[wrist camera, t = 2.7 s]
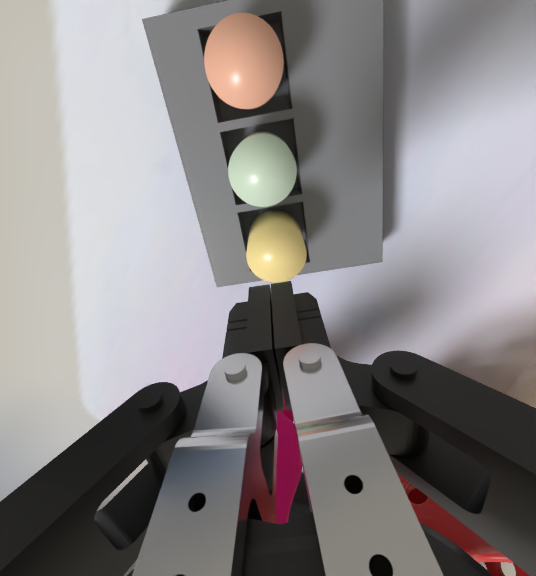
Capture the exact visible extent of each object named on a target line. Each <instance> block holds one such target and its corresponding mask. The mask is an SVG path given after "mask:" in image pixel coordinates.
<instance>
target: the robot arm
mask: <svg viewBox="0 0 536 576" xmlns="http://www.w3.org/2000/svg"><path fill="white" fill-rule="evenodd" d="M283 393H284V397H283ZM284 398H285V403H286V408H287V410H290V409H292V414H293V419H294V425H295V430H296V436H297V441H298V446H299V451H300V456H301V461H302V466H303V471H304V476H305V482H306V487H307V492H308V497H309V502H310V507H311V513H308V514H306V515H304V516H301V517H299V518H297V519H294V520H292V521H289V522H287V523H284V524H277V515H276V478H277V445H278V434H277V430H276V429H277V411H283V410H284ZM145 459H146V460H147V462H148V464H147V465H146V466H145V467H144V468H143V469H142V470H141V471H140V472H139V473H138V474H137V475H136V476H135V477H134V478H133V479H132V480H131V481H130V482H129V483H128V484H127V485H126V486H125V487H124V488H123V489H122V490H121V491H120V492H119V493H118V494H117V495H116V496H115V497H114V498H113V499H112V500H111V501H110V502H109V503H108V504H107V505H106V506H105V507H103V508H102V509H101V510H99V511H97V509H98V507H99V506H100V504H101V503H102V502H103V501H104V499H105V498H107V497H108V496H109V495H110V494H111V493H112V492H113V491H114V490H115V489H116V488H117V486H119V485H120V484H121V483H122V482H123V481H124V480H125V479H126V478H127V477H128V476H129V475H130V474H131V473H132V472H133V471H134V470H135V469H136V468H137V467H138V466H139V465H140V464H141V463H142V462H143V461H144V460H145ZM396 472H397V473H398V474H399V475H401V476H402V477H403V478H404V479H406V480H407V481H408V482H410V483H411V484H412V485H414V486H415V487H416V488H417V489H419V490H420V491H421V492H423V493H424V494H425V495H426V496H428V497H429V498H430V499H432V500H433V501H434V502H436V503H437V504H438V505H439V506H441V507H442V508H443V509H445V510H446V511H447V512H449V513H450V514H451V515H452V516H454V517H455V518H456V519H458V520H459V521H460V522H462V523H463V524H464V525H465V526H467V527H468V528H469V529H471V530H472V531H473V532H474V533H476V534H477V535H478V536H480V537H481V538H482V539H484V540H485V541H486V542H487V543H489V544H490V545H491V546H493V547H494V548H495V549H497V550H498V551H499V552H500V553H502V554H503V555H504V556H506V557H507V558H508V559H509V560H511V561H512V562H513V563H515V564H516V565H517V566H519V567H520V568H521V569H522V570H524V571H525V572H526V573H528V574H529V575H530V576H536V408H534V407H531V406H529V405H527V404H525V403H523V402H520V401H518V400H516V399H514V398H512V397H510V396H507V395H505V394H503V393H501V392H499V391H496V390H494V389H492V388H490V387H488V386H485V385H483V384H481V383H479V382H477V381H474V380H472V379H470V378H468V377H466V376H464V375H461V374H459V373H457V372H455V371H453V370H450V369H448V368H446V367H444V366H442V365H439V364H437V363H435V362H433V361H431V360H428V359H426V358H424V357H422V356H420V355H417V354H415V353H411V352H407V351H390V352H386V353H383V354H381V355H380V356H378V357H377V358H376V359H375V360H374V362H373V364H372V365H367V364H358V363H352V362H349V361H346V360H344V359H342V358H340V357H338V356H337V355H336V354H335V352H334V351H333V350H332V349H331V347H330V344H329V340H328V337H327V334H326V330H325V327H324V323H323V320H322V318H321V313H320V310H319V307H318V303H317V300H316V298H314V297H313V296H312V295H311V294H309V293H308V292H307V293H300V294H294V295H293V289H292V284H291V281H287V282H281V283H274V284H271V289H270V285H269V284H268V285H262V286H255V287H249V296H248V302H241V303H236V304H235V306H234V307H233V308H232V310H231V311H230V312H229V318H228V325H227V332H226V338H225V344H224V351H223V357H222V359H221V360H220V361H219V362H217V363H216V364H215V365H214V367H213V368H212V370H211V372H210V375H209V379H208V380H207V381H206V382H204V383H202V384H200V385H198V386H196V387H193V388H190V389H188V390H185V391H183V392H179V389H178V388H177V386H175V385H174V384H172V383H168V382H159V383H155V384H151V385H149V386H147V387H144V388H143V389H141V390H140V391H138V392H137V393H135V394H134V395H133V396H132V397H130V398H129V399H128V400H127V401H125V402H124V403H123V404H122V405H120V406H119V407H118V408H117V409H115V410H114V411H113V412H112V413H110V414H109V415H108V416H107V417H105V418H104V419H103V420H102V421H101V422H99V423H98V424H97V425H96V426H94V427H93V428H92V429H91V430H89V431H88V432H87V433H86V434H84V435H83V436H82V437H81V438H79V439H78V440H77V441H76V442H74V443H73V444H72V445H71V446H69V447H68V448H67V449H66V450H65V451H63V452H62V453H61V454H60V455H58V456H57V457H56V458H54V459H53V460H52V461H51V462H49V463H48V464H47V465H46V466H44V467H43V468H42V469H41V470H39V471H38V472H37V473H36V474H34V475H33V476H32V477H31V478H29V479H28V480H27V481H26V482H24V483H23V484H22V485H21V486H19V487H18V488H17V489H16V490H14V491H13V492H12V493H11V494H9V495H8V496H7V497H6V498H4V499H3V500H2V501H1V502H0V576H123V575H124V574H125V573H126V572H127V570H128V569H129V568H130V567H131V566H132V564H133V563H134V562H135V561H136V560H137V562H136V565H135V568H134V569H133V570H132V571H131V572H130V573H129V574H128V575H127V576H493V575H492V574H491V573H490V572H488V571H487V570H486V569H485V568H484V567H483V566H481V565H480V564H479V563H478V562H477V561H476V560H475V559H474V558H472V557H471V556H470V555H469V554H468V553H467V552H465V551H464V550H463V549H462V548H460V547H459V546H458V545H457V544H455V543H454V542H452V541H451V540H449V539H448V538H447V537H445V536H444V535H442V534H440V533H439V532H437V531H435V530H433V529H432V528H430V527H428V526H426V525H423V524H421V523H419V521H418V519H417V516H416V514H415V512H414V510H413V508H412V505H411V503H410V501H409V499H408V497H407V495H406V492H405V490H404V488H403V486H402V484H401V481H400V479H399V477H398V475H397V473H396ZM96 511H97V512H96ZM137 558H138V559H137Z"/></svg>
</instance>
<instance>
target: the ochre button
mask: <svg viewBox="0 0 536 576" xmlns="http://www.w3.org/2000/svg"><path fill="white" fill-rule="evenodd" d="M306 256H307V252H306V247H305V243H304V240H303V236H302V233H301V230H300V226H299V224H298V222H297V221H296V219H295V218H294V217H293V216H292V215H290V214H289V213H287V212H285V211H281V210H269V211H266V212H264V213H262V214H260V215H259V216H258V217H256V218H255V220H254V221H253V223H252V224H251V227H250V231H249V238H248V245H247V252H246V258H247V263H248V265H249V268H250V269H251V271H252V272H253V273H254V274H255V275H256V276H257V277H259V278H260V279H262V280H265V281H268V282H274V283H278V282H284V281H287V280H290V279H292V278H293V277H295V276H296V275H297V274H298V273H299V272H300V271H301V270H302V268H303V267H304V264H305V262H306Z"/></svg>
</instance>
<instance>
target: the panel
mask: <svg viewBox="0 0 536 576" xmlns="http://www.w3.org/2000/svg"><path fill="white" fill-rule="evenodd" d="M383 1H384V0H227V1H222V2H218V3H213V4H209V5H204V6H200V7H195V8H191V9H186V10H181V11H177V12H172V13H168V14H163V15H159V16H154V17H150V18H145V19H142V21H143V24H144V28H145V32H146V35H147V39H148V42H149V46H150V49H151V53H152V57H153V60H154V64H155V67H156V71H157V74H158V78H159V82H160V85H161V89H162V92H163V96H164V99H165V103H166V107H167V110H168V114H169V117H170V121H171V125H172V128H173V132H174V135H175V139H176V142H177V146H178V150H179V153H180V157H181V160H182V164H183V167H184V171H185V175H186V178H187V182H188V185H189V189H190V192H191V196H192V200H193V203H194V207H195V210H196V214H197V217H198V221H199V225H200V228H201V232H202V235H203V239H204V242H205V246H206V250H207V253H208V257H209V260H210V264H211V267H212V271H213V275H214V278H215V282H216V285H217V287H221V286H228V285H235V284H241V283H248V282H254V281H261V280H262V279H260V278H259V277H257V276H256V275H255V274H254V273H253V272H252V271H251V269H250V268H249V265H248V263H247V258H246V252H247V245H248V238H249V231H250V227H251V224H252V223H253V221H254V220H255V218H256V217H258V216H259V215H260V214H262V213H264V212H266V211H269V210H281V211H285V212H287V213H289V214H290V215H292V216H293V217H294V218H295V219H296V221H297V222H298V224H299V226H300V230H301V233H302V236H303V240H304V243H305V247H306V252H307V256H306V262H305V264H304V267H303V268H302V270H301V271H300V272H299V273H298V274H297V275H300V274H307V273H313V272H320V271H326V270H333V269H340V268H346V267H353V266H359V265H366V264H372V263H379V262H382V248H383ZM235 13H250V14H253V15H256V16H258V17H260V18H262V19H263V20H264V21H266V22H267V23H268V24H269V25H270V26H271V27H272V29H273V30H274V32H275V33H276V35H277V37H278V39H279V41H280V44H281V47H282V52H283V60H284V65H283V74H282V78H281V81H280V84H279V86H278V88H277V90H276V92H275V94H274V95H273V97H272V98H271V99H270V100H269V101H268V102H267V103H266V104H264V105H263V106H261V107H259V108H255V109H240V108H236V107H233V106H231V105H229V104H227V103H225V102H224V101H223V100H222V99H220V98H219V97H218V95H217V94H216V93H215V92H214V90H213V89H212V87H211V85H210V83H209V81H208V78H207V75H206V71H205V64H204V54H205V47H206V43H207V40H208V38H209V35H210V33H211V32H212V30H213V29H214V27H215V26H216V25H217V24H218V23H219V22H220V21H221V20H222V19H224V18H225V17H227V16H229V15H232V14H235ZM258 131H267V132H271V133H274V134H276V135H278V136H279V137H280V138H282V139H283V140H284V142H285V143H286V144H287V146H288V147H289V149H290V151H291V152H292V154H293V156H294V159H295V162H296V168H297V174H296V181H295V184H294V186H293V188H292V190H291V192H290V193H289V194H288V196H287V197H286V198H285V199H284V200H282V201H281V202H279V203H277V204H275V205H272V206H268V207H258V206H253V205H250V204H248V203H246V202H245V201H243V200H242V199H241V198H239V196H238V195H237V194H236V193H235V192H234V190H233V188H232V186H231V184H230V181H229V175H228V166H229V161H230V158H231V155H232V153H233V151H234V150H235V149H236V147H237V146H238V145H239V144H240V142H241V141H242V140H243V139H244V138H245V137H246V136H248V135H250V134H252V133H254V132H258Z"/></svg>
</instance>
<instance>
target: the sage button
mask: <svg viewBox="0 0 536 576" xmlns="http://www.w3.org/2000/svg"><path fill="white" fill-rule="evenodd" d="M296 174H297V168H296V162H295V159H294V156H293V154H292V152H291V151H290V149H289V147H288V146H287V144H286V143H285V142H284V140H283V139H282V138H280V137H279V136H278V135H276V134H274V133H271V132H267V131H258V132H254V133H252V134H250V135H248V136H246V137H245V138H244V139H243V140H242V141H241V142H240V144H239V145H238V146H237V147H236V149H235V150H234V151H233V153H232V155H231V158H230V161H229V166H228V175H229V181H230V184H231V186H232V188H233V190H234V192H235V193H236V194H237V195H238V196H239V198H241V199H242V200H243V201H245V202H246V203H248V204H250V205H253V206H258V207H268V206H272V205H275V204H277V203H279V202H281V201H282V200H284V199H285V198H286V197H287V196H288V194H289V193H290V192H291V190H292V188H293V186H294V184H295V181H296Z"/></svg>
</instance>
